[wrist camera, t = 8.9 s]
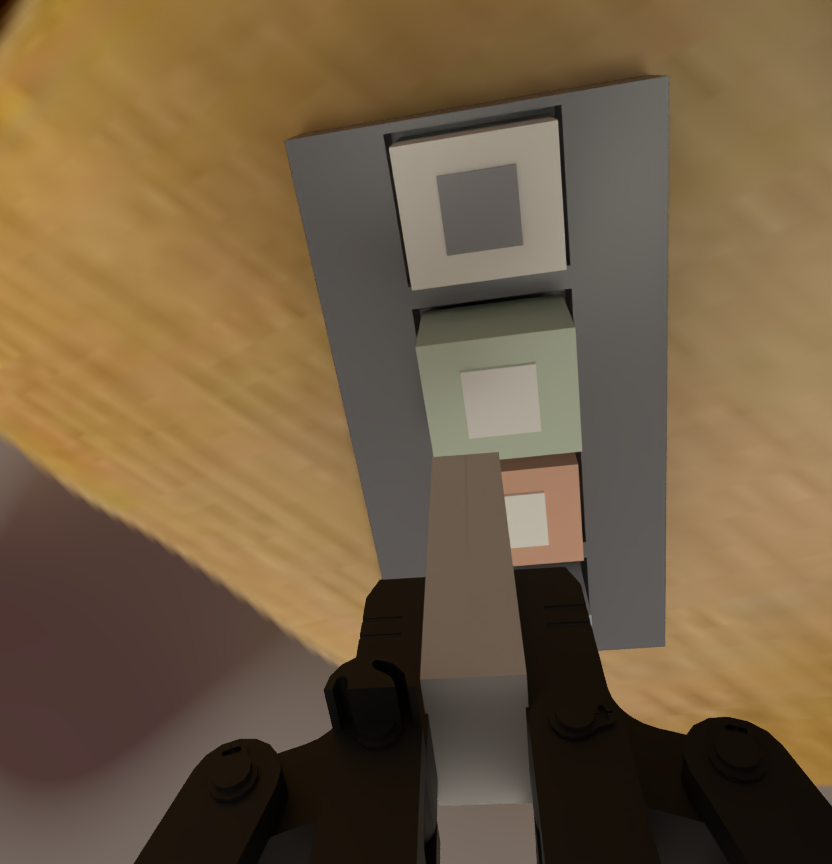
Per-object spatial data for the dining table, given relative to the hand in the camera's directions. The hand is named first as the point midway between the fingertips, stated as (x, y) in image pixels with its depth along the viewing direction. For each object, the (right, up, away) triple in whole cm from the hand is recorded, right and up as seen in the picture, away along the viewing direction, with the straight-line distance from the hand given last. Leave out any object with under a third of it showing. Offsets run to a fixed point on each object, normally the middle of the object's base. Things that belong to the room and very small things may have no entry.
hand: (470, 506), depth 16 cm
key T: (+3, 0, +14) cm, 14 cm away
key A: (+2, +4, +10) cm, 11 cm away
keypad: (+2, +3, +13) cm, 14 cm away
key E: (+1, +10, +9) cm, 13 cm away
